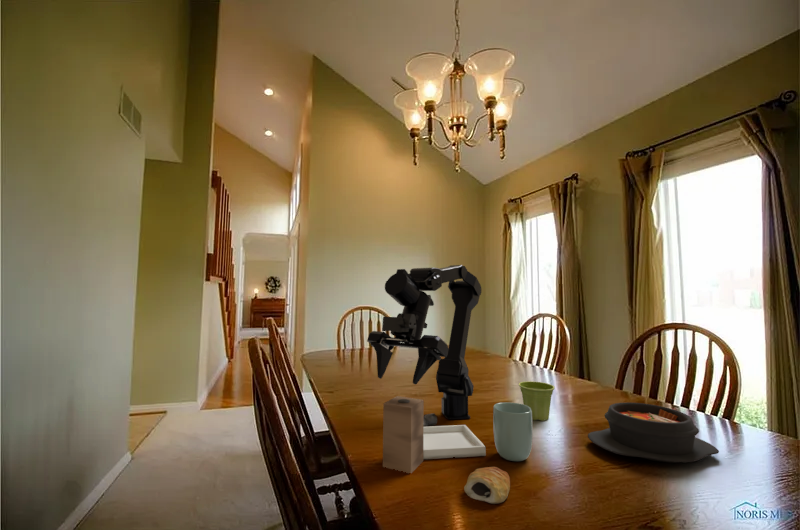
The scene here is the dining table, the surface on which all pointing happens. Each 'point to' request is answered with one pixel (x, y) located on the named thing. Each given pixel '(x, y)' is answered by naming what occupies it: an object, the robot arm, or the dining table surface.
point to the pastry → (488, 485)
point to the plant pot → (537, 398)
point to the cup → (512, 430)
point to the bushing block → (403, 433)
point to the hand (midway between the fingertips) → (396, 380)
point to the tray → (451, 442)
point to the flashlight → (429, 420)
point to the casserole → (651, 434)
